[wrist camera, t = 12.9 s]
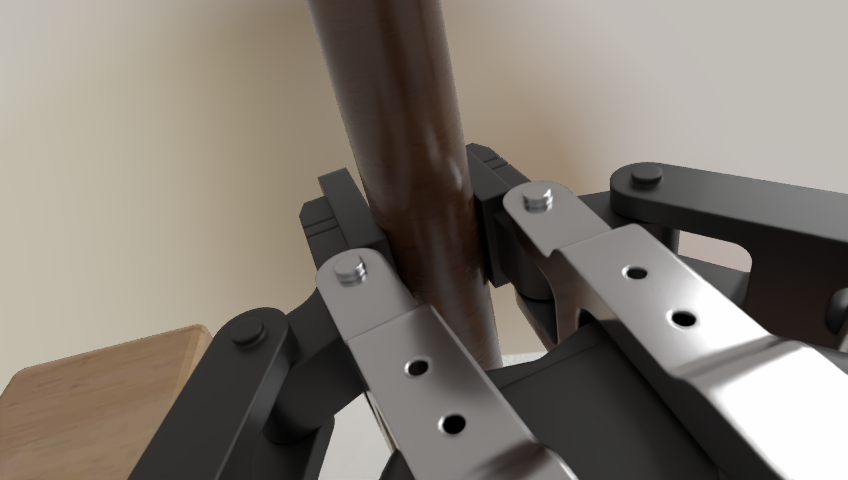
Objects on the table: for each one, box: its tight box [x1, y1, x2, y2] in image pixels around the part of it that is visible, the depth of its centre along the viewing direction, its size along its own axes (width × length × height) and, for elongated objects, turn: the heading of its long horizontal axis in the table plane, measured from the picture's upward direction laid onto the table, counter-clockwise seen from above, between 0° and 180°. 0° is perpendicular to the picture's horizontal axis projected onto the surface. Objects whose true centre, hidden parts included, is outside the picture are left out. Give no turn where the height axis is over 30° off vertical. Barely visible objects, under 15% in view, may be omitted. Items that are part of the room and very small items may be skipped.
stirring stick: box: [306, 0, 503, 371], centre depth 12 cm, size 5×5×18 cm
